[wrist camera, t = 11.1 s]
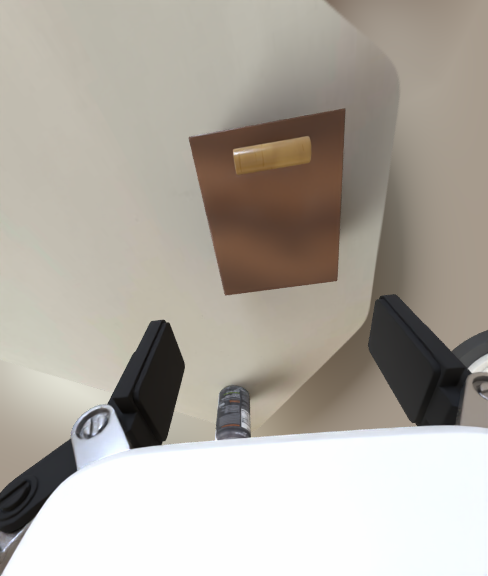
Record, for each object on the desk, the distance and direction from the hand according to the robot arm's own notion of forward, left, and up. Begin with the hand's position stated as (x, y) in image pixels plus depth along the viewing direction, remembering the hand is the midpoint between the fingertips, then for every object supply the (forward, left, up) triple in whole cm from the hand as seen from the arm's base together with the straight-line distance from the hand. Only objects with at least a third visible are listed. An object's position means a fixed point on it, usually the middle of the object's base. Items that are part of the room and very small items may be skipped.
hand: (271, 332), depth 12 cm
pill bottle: (+8, +34, -22) cm, 41 cm away
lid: (-2, -1, -14) cm, 14 cm away
